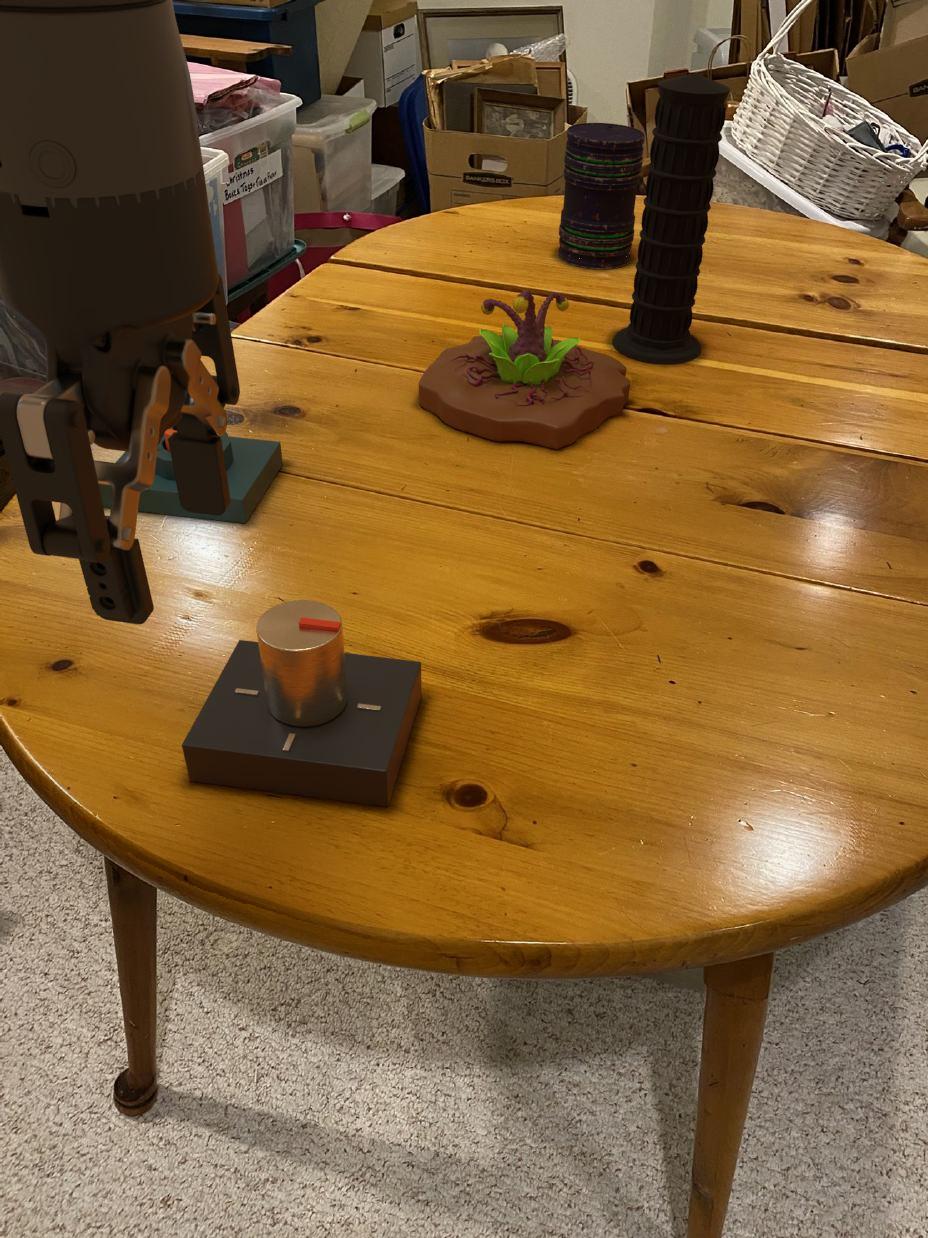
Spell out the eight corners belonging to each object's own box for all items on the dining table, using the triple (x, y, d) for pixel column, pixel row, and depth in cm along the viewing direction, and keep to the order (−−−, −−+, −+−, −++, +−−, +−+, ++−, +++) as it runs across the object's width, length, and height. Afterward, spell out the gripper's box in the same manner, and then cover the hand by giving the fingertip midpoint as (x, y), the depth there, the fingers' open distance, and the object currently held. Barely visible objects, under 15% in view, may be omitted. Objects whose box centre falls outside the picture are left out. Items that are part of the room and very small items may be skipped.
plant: (385, 413, 98) (381, 295, 91) (476, 344, 112) (479, 237, 104) (578, 464, 92) (590, 343, 85) (649, 385, 106) (665, 274, 99)
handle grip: (616, 361, 110) (708, 365, 110) (649, 81, 93) (758, 87, 93) (608, 326, 118) (694, 329, 118) (637, 60, 100) (738, 66, 101)
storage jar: (624, 273, 131) (639, 145, 122) (550, 263, 133) (559, 136, 123) (636, 249, 139) (650, 127, 129) (565, 240, 140) (574, 119, 130)
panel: (189, 781, 61) (180, 742, 58) (244, 674, 68) (238, 637, 66) (388, 807, 60) (386, 769, 58) (421, 696, 67) (421, 659, 65)
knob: (256, 721, 60) (243, 640, 56) (281, 670, 64) (270, 590, 60) (336, 731, 60) (329, 651, 56) (356, 679, 64) (350, 600, 60)
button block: (102, 507, 83) (91, 462, 80) (151, 449, 90) (142, 407, 88) (245, 523, 82) (239, 479, 79) (283, 464, 90) (278, 422, 87)
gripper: (81, 101, 40) (156, 472, 50) (-157, 204, 29) (1, 648, 40) (266, 118, 39) (303, 490, 50) (92, 230, 29) (186, 674, 39)
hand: (169, 560), depth 45 cm, fingers open, 8 cm apart
